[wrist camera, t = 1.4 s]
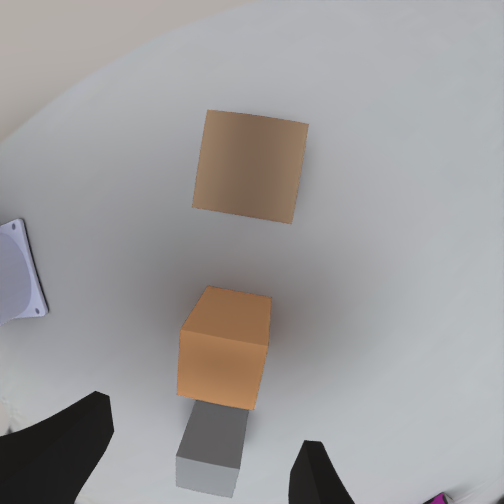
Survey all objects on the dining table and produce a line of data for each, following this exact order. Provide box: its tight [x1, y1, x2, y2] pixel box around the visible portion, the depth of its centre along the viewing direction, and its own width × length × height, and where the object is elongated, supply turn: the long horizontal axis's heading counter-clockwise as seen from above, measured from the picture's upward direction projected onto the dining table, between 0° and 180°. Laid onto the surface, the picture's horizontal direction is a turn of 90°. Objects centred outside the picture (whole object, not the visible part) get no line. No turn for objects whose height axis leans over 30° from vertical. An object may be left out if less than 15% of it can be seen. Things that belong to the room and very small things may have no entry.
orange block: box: [177, 286, 272, 410], centre depth 17 cm, size 4×4×6 cm
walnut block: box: [192, 110, 309, 224], centre depth 15 cm, size 4×4×6 cm
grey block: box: [176, 400, 248, 498], centre depth 19 cm, size 4×4×6 cm
